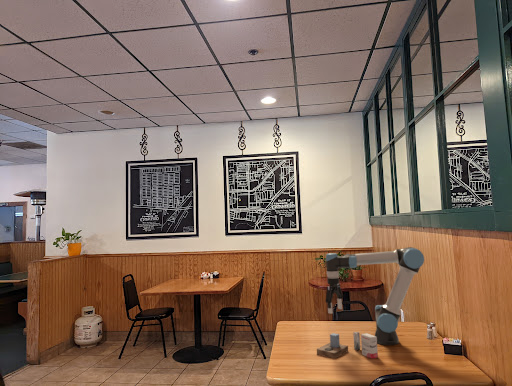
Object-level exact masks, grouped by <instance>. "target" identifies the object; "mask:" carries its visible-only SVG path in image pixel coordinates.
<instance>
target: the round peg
mask: <svg viewBox="0 0 512 386" xmlns="http://www.w3.org/2000/svg"><path fill="white" fill-rule="evenodd" d="M353 349H354V350H355V351H361V334H360V332H359V331H353Z"/></svg>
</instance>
